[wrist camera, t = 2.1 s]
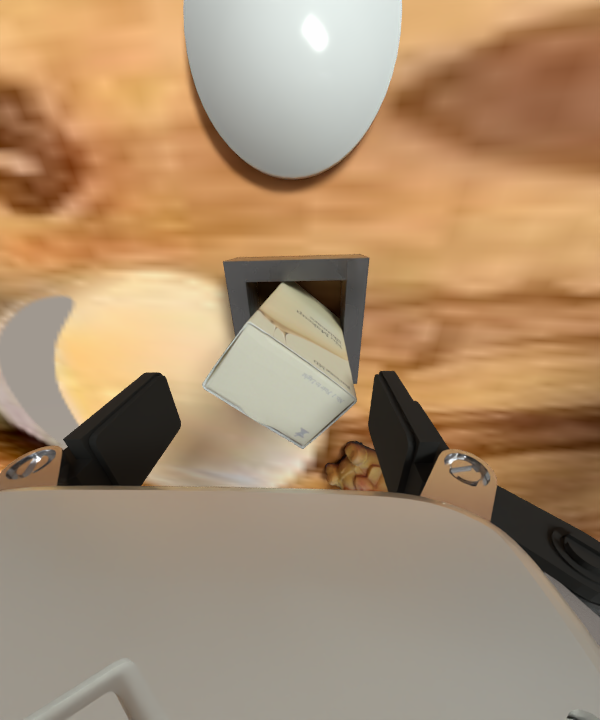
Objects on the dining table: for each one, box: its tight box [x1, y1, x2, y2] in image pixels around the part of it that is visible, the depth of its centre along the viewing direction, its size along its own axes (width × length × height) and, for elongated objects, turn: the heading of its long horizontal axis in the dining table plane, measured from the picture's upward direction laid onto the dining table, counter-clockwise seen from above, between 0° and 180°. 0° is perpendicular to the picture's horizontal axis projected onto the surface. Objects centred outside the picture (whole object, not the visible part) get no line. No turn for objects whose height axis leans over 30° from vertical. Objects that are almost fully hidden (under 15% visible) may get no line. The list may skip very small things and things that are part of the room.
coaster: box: [183, 0, 402, 180], centre depth 14 cm, size 12×12×1 cm
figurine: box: [326, 441, 388, 492], centre depth 25 cm, size 10×8×15 cm
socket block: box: [223, 254, 369, 384], centre depth 20 cm, size 10×10×4 cm
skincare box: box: [202, 281, 357, 449], centre depth 16 cm, size 6×4×12 cm
